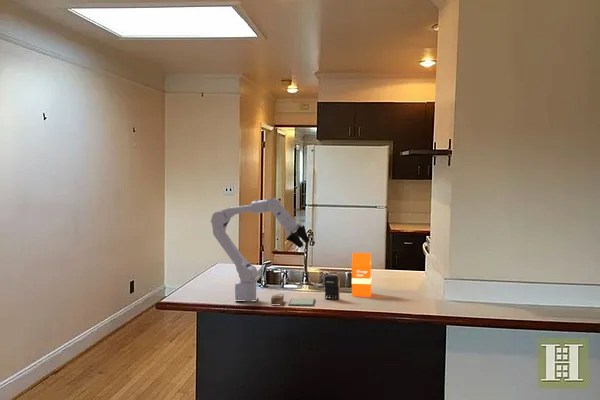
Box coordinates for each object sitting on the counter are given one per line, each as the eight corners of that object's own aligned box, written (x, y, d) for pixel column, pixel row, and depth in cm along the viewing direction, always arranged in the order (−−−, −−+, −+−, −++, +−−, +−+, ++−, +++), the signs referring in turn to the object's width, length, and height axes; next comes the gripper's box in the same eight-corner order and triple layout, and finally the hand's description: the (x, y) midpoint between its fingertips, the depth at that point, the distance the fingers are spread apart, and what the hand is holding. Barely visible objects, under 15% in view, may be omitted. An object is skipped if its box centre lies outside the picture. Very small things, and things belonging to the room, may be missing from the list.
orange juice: (370, 296, 245) (370, 254, 244) (351, 296, 247) (351, 254, 246) (371, 293, 253) (371, 252, 252) (353, 292, 254) (353, 251, 253)
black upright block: (322, 299, 240) (322, 275, 239) (326, 298, 243) (326, 273, 243) (337, 301, 237) (336, 276, 236) (340, 299, 240) (340, 274, 240)
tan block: (271, 305, 231) (271, 297, 230) (273, 301, 239) (273, 293, 238) (281, 306, 230) (281, 298, 230) (283, 301, 238) (283, 294, 238)
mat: (288, 305, 229) (288, 304, 229) (291, 299, 240) (291, 298, 240) (313, 306, 228) (313, 304, 228) (315, 300, 239) (315, 298, 239)
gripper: (285, 219, 227) (305, 244, 226) (298, 211, 240) (316, 234, 239) (275, 228, 230) (294, 252, 229) (287, 220, 243) (305, 243, 242)
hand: (304, 244), depth 234 cm, fingers open, 7 cm apart
